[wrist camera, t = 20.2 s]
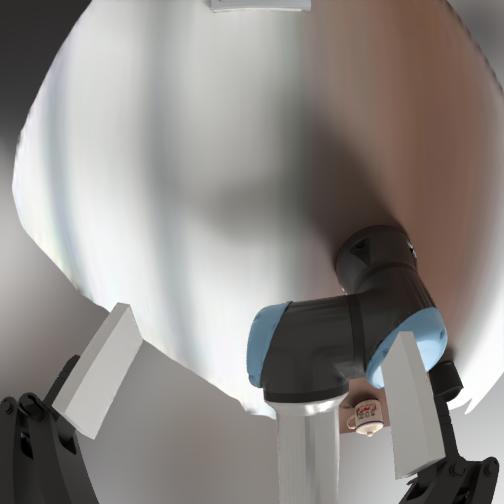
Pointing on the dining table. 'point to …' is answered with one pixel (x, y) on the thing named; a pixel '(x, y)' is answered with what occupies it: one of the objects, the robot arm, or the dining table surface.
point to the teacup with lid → (367, 417)
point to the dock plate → (260, 5)
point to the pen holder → (445, 381)
